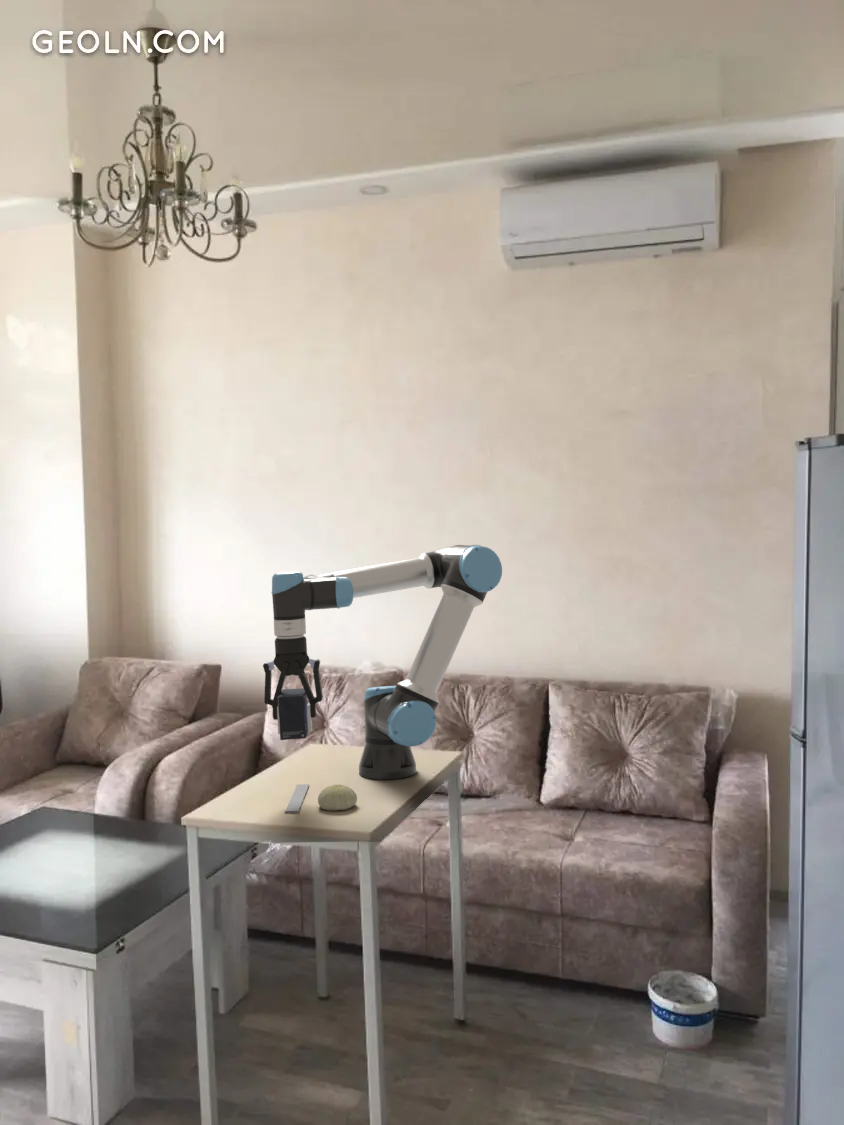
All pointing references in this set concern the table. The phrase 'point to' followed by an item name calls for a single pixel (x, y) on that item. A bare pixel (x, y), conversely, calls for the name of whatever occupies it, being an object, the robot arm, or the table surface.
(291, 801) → the gray strip
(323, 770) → the table surface
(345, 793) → the sea urchin shell
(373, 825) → the table surface
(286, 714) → the small box
